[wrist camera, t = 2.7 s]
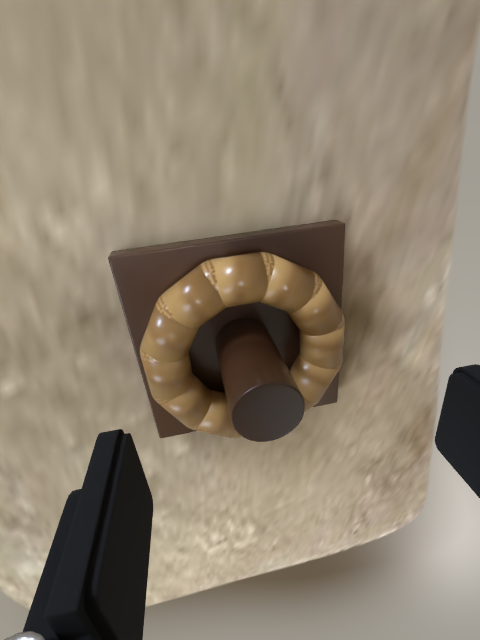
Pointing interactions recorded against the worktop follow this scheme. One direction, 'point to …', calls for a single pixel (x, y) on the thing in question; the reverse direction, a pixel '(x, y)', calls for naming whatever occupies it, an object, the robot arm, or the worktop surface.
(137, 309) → the peg stand
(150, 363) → the ring
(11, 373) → the worktop surface
